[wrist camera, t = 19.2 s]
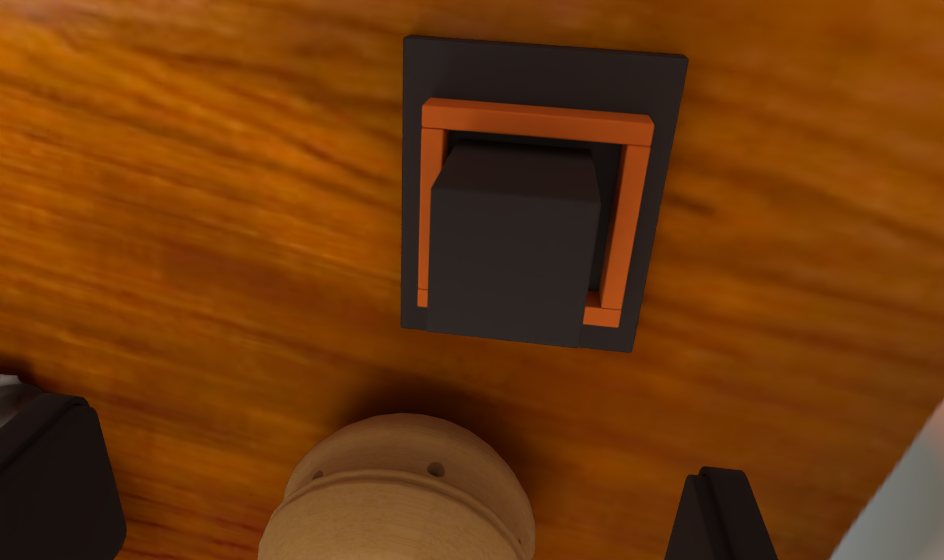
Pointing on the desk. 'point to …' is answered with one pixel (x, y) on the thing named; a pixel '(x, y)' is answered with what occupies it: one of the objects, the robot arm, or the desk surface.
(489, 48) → the base pad
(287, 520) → the pot
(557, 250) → the dark grey cube
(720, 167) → the desk surface
